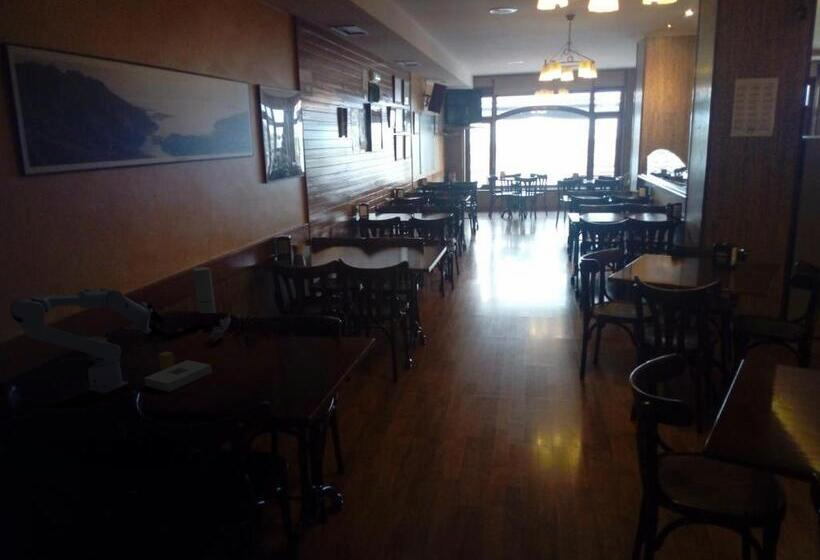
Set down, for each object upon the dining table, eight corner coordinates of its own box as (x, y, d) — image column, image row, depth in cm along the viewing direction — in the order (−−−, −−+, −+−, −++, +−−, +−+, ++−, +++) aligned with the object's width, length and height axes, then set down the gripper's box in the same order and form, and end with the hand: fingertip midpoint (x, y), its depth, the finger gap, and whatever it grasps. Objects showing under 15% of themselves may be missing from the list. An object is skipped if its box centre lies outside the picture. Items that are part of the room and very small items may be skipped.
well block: (169, 392, 202) (168, 383, 201) (145, 386, 208) (144, 377, 207) (212, 372, 217) (211, 364, 217) (188, 367, 223) (187, 359, 223)
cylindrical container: (218, 321, 280) (212, 266, 274) (214, 325, 273) (207, 270, 267) (202, 321, 280) (195, 267, 274) (198, 326, 273) (190, 271, 267)
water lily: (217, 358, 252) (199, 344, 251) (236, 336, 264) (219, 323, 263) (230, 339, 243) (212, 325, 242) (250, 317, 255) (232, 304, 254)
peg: (167, 371, 221) (165, 355, 219) (160, 370, 222) (158, 354, 221) (175, 368, 223) (173, 352, 222) (168, 366, 225) (166, 351, 224)
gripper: (143, 317, 207) (174, 334, 217) (138, 290, 217) (168, 308, 227) (127, 330, 208) (159, 347, 218) (124, 302, 218) (154, 320, 228)
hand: (163, 328), depth 222 cm, fingers open, 7 cm apart
